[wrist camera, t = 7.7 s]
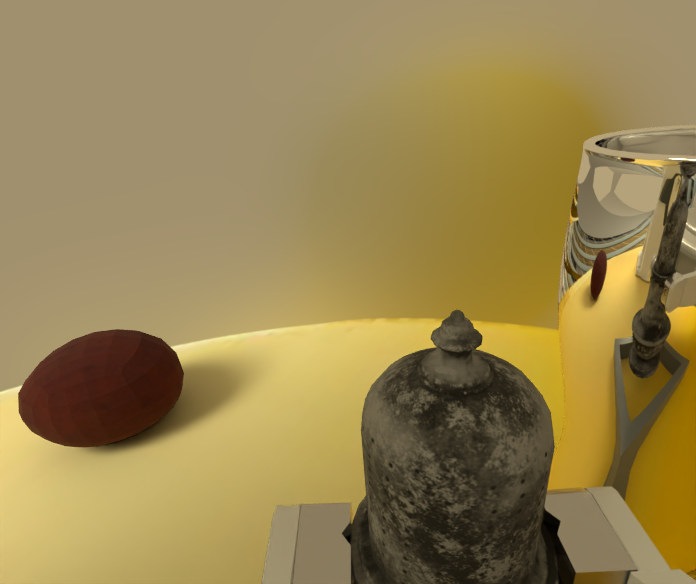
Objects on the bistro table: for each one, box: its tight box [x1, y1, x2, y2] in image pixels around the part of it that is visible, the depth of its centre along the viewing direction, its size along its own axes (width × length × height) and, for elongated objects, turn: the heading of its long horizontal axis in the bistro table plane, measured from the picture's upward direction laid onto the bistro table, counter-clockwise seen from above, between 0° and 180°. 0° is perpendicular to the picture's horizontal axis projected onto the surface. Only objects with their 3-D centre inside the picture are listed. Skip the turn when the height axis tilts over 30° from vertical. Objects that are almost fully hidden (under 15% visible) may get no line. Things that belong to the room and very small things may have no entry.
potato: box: [18, 330, 184, 447], centre depth 26 cm, size 7×8×6 cm
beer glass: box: [547, 125, 696, 573], centre depth 15 cm, size 7×7×15 cm
